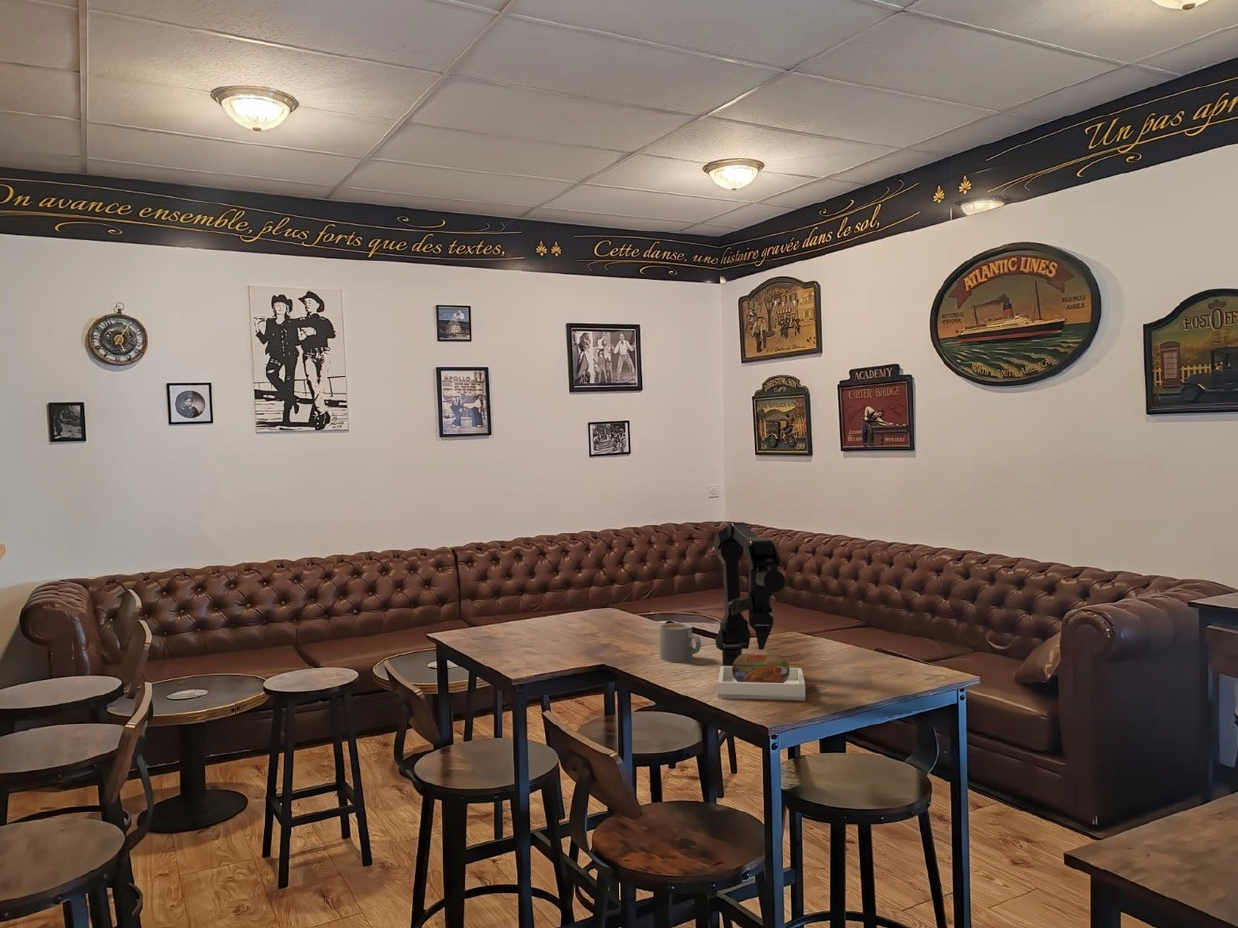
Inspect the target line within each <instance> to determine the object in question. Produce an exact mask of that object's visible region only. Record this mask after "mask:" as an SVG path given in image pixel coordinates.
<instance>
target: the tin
mask: <svg viewBox="0 0 1238 928" xmlns="http://www.w3.org/2000/svg"><path fill="white" fill-rule="evenodd" d="M789 668H790V665H789V663H788V662H787V660H786V659H785V658H784V657H783V656H782V655H780V654H777V653H746V652H745V653H742V655H740V656H738V657H737V658H736V659H735V661H734V663H733V665H732V674H733V676H734V678H735V680H736V681H737V682H754V683H784V682H785V681H786V680H787V679H788V676H789V672H790V670H789Z"/></svg>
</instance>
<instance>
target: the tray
mask: <svg viewBox="0 0 1238 928" xmlns="http://www.w3.org/2000/svg"><path fill="white" fill-rule="evenodd" d="M789 670H790V672H789V676H788V679H787V680H786V681H785V682H784V683H754V682H737V681H736V680H735V678H734V676H733V674H732V666H721V665H720V667H719V675H718V682H717V690H718V691H717V698H718V699H740V700H772V701H775V700H776V701H777V700H778V701H806V683H805V678H804V677H805V676H804V674H803V673H804V672H803V670H802V667H789Z"/></svg>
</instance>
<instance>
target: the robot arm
mask: <svg viewBox="0 0 1238 928" xmlns="http://www.w3.org/2000/svg"><path fill="white" fill-rule="evenodd" d="M747 524H748V523H747V522H746V523H745V522H742V521H741V522H730V523H728V524H727V526H726V527H724V528H722V529H721V530H719V531H718V532H717V534H716V535H715V537H714V539H713V546H714V549H715V551H716V552H715V553H716V556H717V558H718V559H719V561H720V562H721V564H722V579H723V580H722V581H723V599H724V601H723V602H724V615H723V617H722V619H721V620H720V622H719V630H718V633H717V635H716V638H715V640H714V641H715V646H716V648H717V649H718V650H720V651H721V652H722V653H721V654H722V657H721V658H722V660H721V663H722V664H720V666H732V665H733V663H734V661H735V659H736V658H737V657H738V656H740V655H742V654H743V650H744V649H746V650H747V649H749V647H750V641H751V636H752V635H751V631H750V629H749V627H751V629H753V630H754V632H755V636H756V637H755V638H756V642H757V646H758V650H760V651H764V648H765V646H766V643H767V641H768V639H769V636H770V633H771V630H772V628H773V625H774V615H773V607H772V606H773V605H772V593H773V594H775V593H779V592H781V591H782V590H783V588H784V587H785V585H786V578H785V576H784V574H783V573H782V572H781V571H779V570H778V567H781V564H780V563H781V557H780V555H779V552H778V550H777V547H776V545H775V544H774V542H773V540H772V539H769V538H766V537H761V536H758V535H757V534H756V533H755V532H754V531H753V530H752V529H750V528H749V527H748V525H747ZM743 556H744V557H745V559H746V561H747V563H748V566H747V568H748V569H749V570H748V572H749V573H748V574H749V576H748V577H749V581H748V582H749V583H748V584H749V590H748V592H747V593H748V595H744V596H742V597H741V586H740V585H741V584H740V583H741V582H740V570H739V569H740V565H739V564H740V561H741V559H742V558H743ZM745 611H748V620H747V619H746V618H745V616H744V615H743V614H742V613H743V612H745Z"/></svg>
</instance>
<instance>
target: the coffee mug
mask: <svg viewBox="0 0 1238 928" xmlns="http://www.w3.org/2000/svg"><path fill="white" fill-rule="evenodd" d="M693 640H694V641H695V648H694V647H693V646H694V645H693ZM701 646H702V642H701V637H700V636H699V635H698V634H695V633H693V625H692V624H689V623H683V622H682V623H681V622H671V623H670V622H669V623H663V624H660V625H659V660H661V659H662V660H665V661H664V662H666V661H668V662H667V663H684V662H683V661H687V662H690V661H692V660H693V655H695V654H698V653H699V652H700V649H701ZM691 659H692V660H691ZM662 660H661V661H662ZM689 660H690V661H689Z"/></svg>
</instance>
